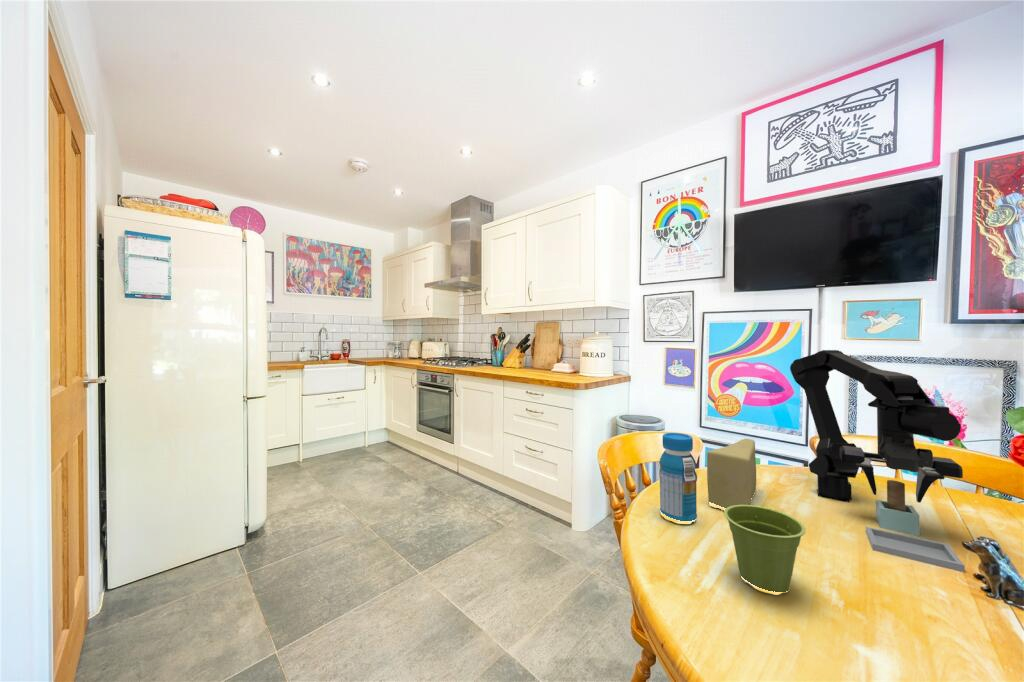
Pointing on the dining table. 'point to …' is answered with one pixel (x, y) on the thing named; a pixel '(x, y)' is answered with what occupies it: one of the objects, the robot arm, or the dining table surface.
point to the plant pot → (765, 545)
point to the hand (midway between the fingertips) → (896, 498)
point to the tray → (914, 548)
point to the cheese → (732, 474)
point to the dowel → (895, 495)
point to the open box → (897, 518)
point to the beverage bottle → (678, 478)
